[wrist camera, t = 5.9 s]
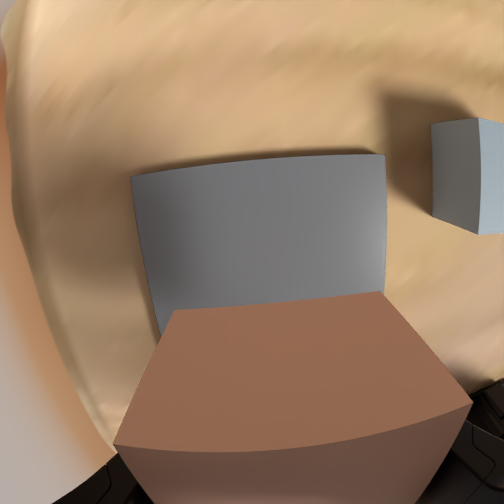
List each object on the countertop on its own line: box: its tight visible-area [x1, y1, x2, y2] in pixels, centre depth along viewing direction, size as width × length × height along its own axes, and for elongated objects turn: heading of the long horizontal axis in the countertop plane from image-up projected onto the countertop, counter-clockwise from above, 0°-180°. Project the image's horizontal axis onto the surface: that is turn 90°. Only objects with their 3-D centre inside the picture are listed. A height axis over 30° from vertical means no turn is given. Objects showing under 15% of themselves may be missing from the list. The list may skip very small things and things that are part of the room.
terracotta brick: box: [113, 291, 473, 504], centre depth 7 cm, size 6×6×5 cm
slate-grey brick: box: [431, 118, 504, 235], centre depth 14 cm, size 6×6×5 cm
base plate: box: [130, 154, 387, 337], centre depth 18 cm, size 14×14×1 cm
